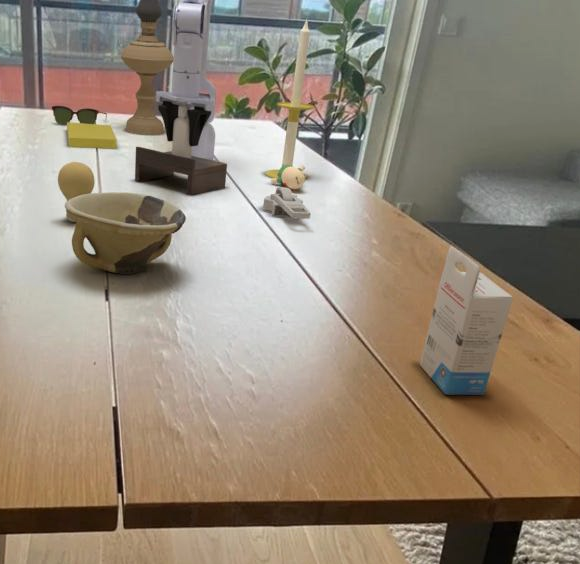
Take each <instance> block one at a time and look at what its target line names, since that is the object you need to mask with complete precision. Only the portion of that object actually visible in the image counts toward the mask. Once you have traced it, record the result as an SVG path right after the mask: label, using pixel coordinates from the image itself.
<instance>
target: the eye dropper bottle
mask: <svg viewBox="0 0 580 564" xmlns="http://www.w3.org/2000/svg"><path fill="white" fill-rule="evenodd" d="M186 104H187V102H183V103H182V104H181V105H180V106H179V111H178V116H180V117H178V118H176V119H175V120H174V126H173V141H171V142H172V143H171V145H172V146H171V151H172V154H173V155H178V156H182V157H187V158H191V155H192V146H190V145H189V133H190V127H189V118H188V113H187V110H190V107H187V105H186Z"/></svg>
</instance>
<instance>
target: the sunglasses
mask: <svg viewBox="0 0 580 564" xmlns="http://www.w3.org/2000/svg"><path fill="white" fill-rule="evenodd" d="M51 111H52V115H53V117H54V120H55V122H56V124H58V125H59V126H60V125H61V126H67V122H71V121H72V119H73V117H74V115H76V119H77V121H78V123H84V124H96V121H97V119H98V115H99V114H102V115H105V119H107V117H108V113H106V112H103V111H99V110H98V109H94V108H89V107H88V108H81V109H79V110H77V111H76V110H75V111H74V110H73V109H72V108H70V107H67V106H64V105H52V106H51Z"/></svg>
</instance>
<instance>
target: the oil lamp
mask: <svg viewBox="0 0 580 564" xmlns="http://www.w3.org/2000/svg"><path fill="white" fill-rule="evenodd" d="M162 12H163V11H162V7H161V5H160V1H159V0H139V2H138V4H137V6H136V8H135V13H136V15H137V17H138V18H139V19H140V25H139V26H140V27H139V28H140V29H141V32H140V34H139V35H138V38H137V39H136V40H130V42H129V44H128V45H126V46H124V48H123V49H122V51H121V52H120V55H119V56H120V59H121V61H122V62H123V63H124V65H126V67H128V68H129V69H130V70H132V71H134V72H135V73H136V74H137V75H138V77H139V79H140V86H139V89H138V90H137V92H136V93H135V99H136V103H137V107H136V110H135V112H134V114H133V115H132V116H131V117H129V118H128V119H127V120H126V123H125V132H127V133H130V134H134V135H144V136H158V135H162V134H164V122H163V121H161V119H160V118H159V117H157V115H156V113H155V110H154V104H155V102H156V92H154V91H155V90H154V89H153V87H152V86H153V85H152V84H153V80H154V78H155V76H157V75H158V73H161V72H163V71H165V70H167V69H168V68H170V66H171V65H173V60H174V54H173V53H172V51H171V50H170V49H169V48H167V47H166V44H165V42H162V41H161V42H160V41H159V40H158V37H157V35H155V34H156V30H157V21H158V20H159V19H160V18H161V16H162V14H163V13H162ZM136 34H138V31H137V32H136V30H134V33H133V35H134V36H136Z"/></svg>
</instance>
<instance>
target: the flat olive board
mask: <svg viewBox="0 0 580 564" xmlns="http://www.w3.org/2000/svg"><path fill="white" fill-rule="evenodd" d="M66 132H67V140H68V147H69V148H87V149H92V148H93V149H110V150H111V149H117V137H116V135H115V132H114V131H113V128H112V125H111V124H109V125H108V124H98V123H97V124H96V123H95V124H84V123H80V122H71V121H70V122H67V125H66Z"/></svg>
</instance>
